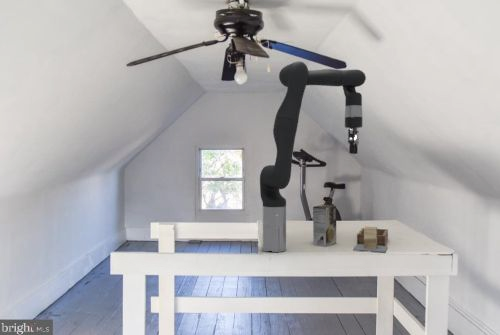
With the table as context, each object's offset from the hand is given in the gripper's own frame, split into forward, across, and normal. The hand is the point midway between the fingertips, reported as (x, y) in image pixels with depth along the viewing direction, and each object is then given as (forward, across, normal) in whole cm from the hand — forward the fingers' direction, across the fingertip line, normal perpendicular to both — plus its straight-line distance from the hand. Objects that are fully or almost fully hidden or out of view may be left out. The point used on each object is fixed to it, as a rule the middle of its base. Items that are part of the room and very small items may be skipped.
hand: (353, 153), depth 189 cm
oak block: (+38, +17, +9) cm, 42 cm away
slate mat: (+38, +17, +9) cm, 43 cm away
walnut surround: (+38, +2, +8) cm, 39 cm away
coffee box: (+38, +13, -10) cm, 42 cm away
